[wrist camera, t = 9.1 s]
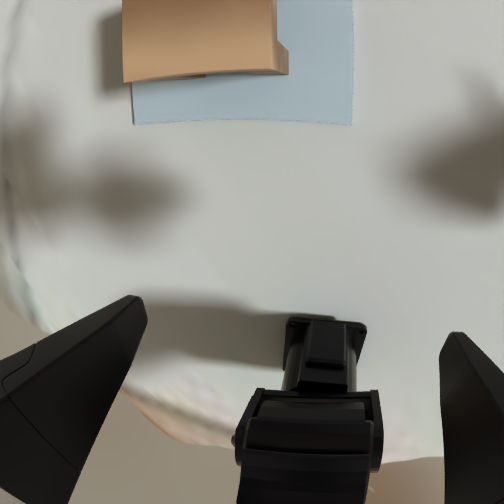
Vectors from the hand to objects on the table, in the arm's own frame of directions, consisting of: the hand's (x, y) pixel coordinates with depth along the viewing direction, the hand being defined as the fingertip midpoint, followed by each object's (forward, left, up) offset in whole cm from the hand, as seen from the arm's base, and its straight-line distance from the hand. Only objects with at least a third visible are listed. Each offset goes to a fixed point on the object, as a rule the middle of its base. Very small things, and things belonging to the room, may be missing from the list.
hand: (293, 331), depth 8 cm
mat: (+10, +5, -13) cm, 17 cm away
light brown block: (+10, +5, -13) cm, 17 cm away
